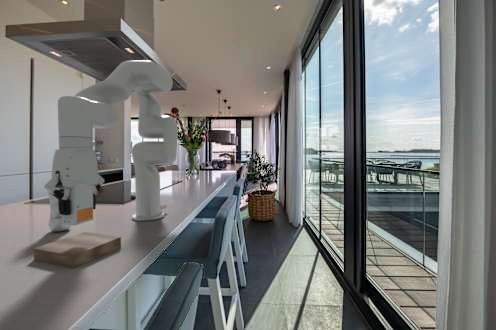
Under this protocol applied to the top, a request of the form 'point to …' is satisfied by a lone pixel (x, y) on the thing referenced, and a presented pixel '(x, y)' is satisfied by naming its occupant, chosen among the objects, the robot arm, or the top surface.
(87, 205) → the skincare box
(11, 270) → the top surface
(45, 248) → the walnut base
